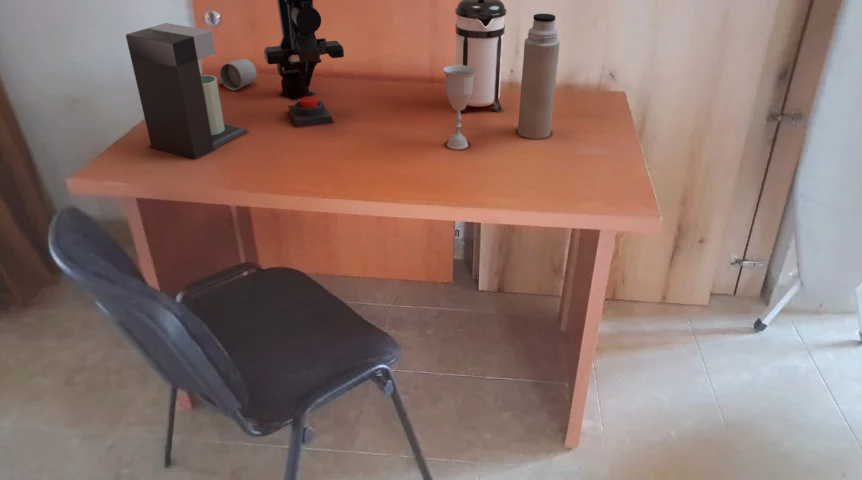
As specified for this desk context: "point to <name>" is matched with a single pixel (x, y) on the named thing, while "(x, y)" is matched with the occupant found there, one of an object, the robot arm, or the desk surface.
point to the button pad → (310, 115)
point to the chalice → (458, 98)
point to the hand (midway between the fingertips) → (307, 86)
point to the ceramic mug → (237, 74)
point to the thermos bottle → (538, 78)
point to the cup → (213, 104)
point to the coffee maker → (175, 88)
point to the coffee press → (481, 47)
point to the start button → (308, 102)
